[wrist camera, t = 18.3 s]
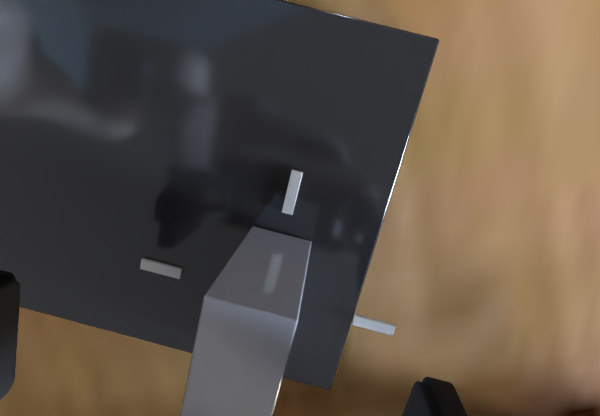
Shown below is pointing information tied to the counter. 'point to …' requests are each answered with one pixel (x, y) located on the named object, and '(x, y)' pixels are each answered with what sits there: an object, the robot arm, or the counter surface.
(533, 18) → the counter surface
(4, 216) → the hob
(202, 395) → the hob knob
